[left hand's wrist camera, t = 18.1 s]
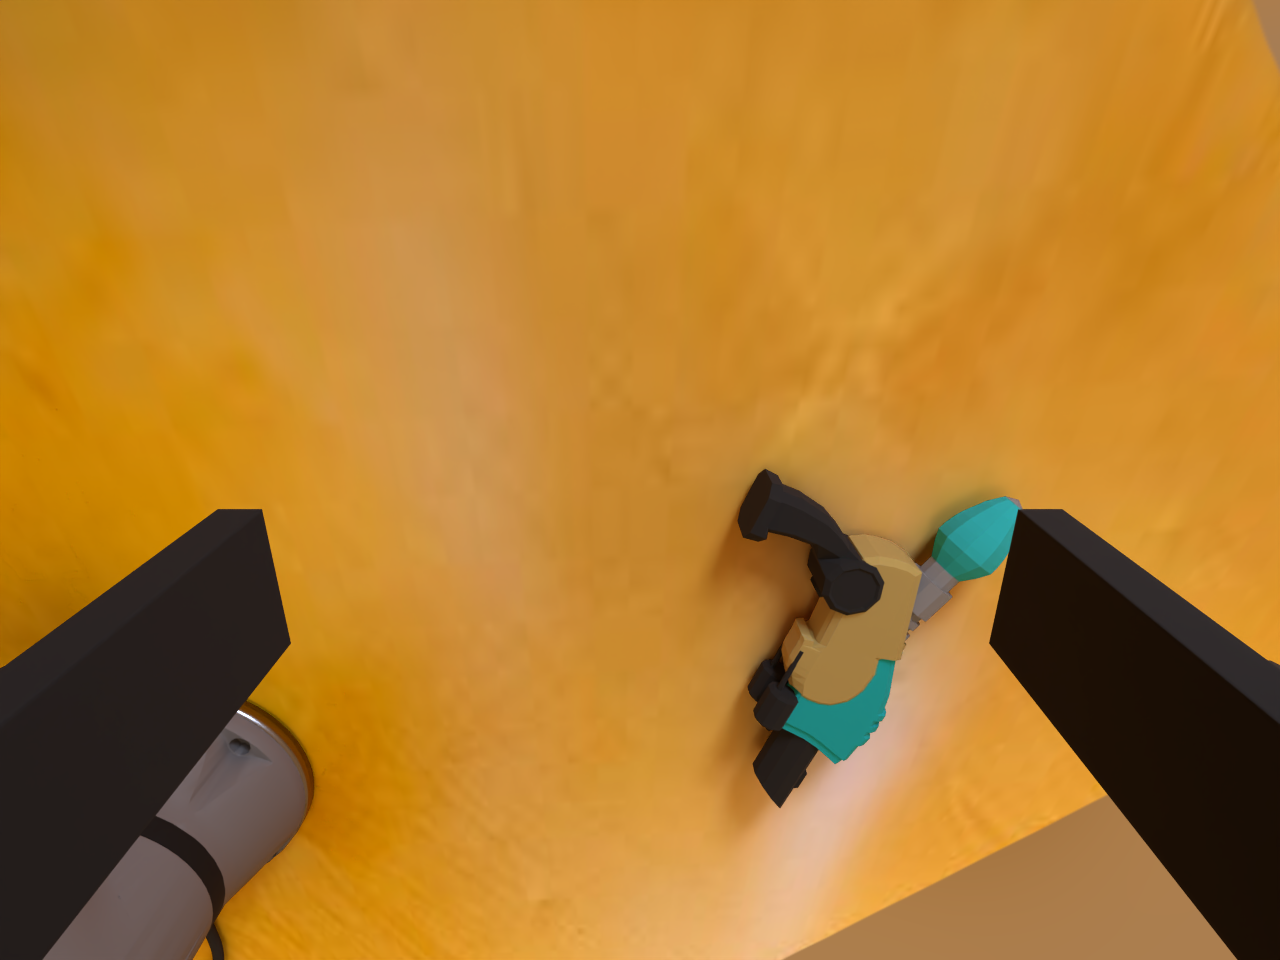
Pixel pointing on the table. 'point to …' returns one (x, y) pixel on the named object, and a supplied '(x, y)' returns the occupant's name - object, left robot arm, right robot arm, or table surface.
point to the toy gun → (852, 622)
